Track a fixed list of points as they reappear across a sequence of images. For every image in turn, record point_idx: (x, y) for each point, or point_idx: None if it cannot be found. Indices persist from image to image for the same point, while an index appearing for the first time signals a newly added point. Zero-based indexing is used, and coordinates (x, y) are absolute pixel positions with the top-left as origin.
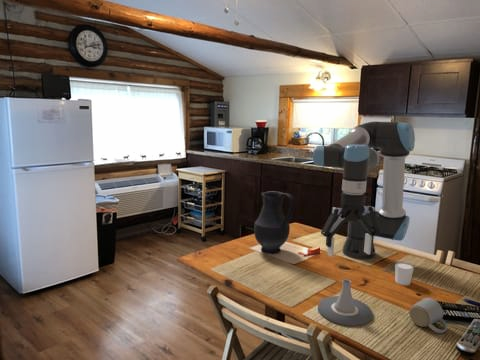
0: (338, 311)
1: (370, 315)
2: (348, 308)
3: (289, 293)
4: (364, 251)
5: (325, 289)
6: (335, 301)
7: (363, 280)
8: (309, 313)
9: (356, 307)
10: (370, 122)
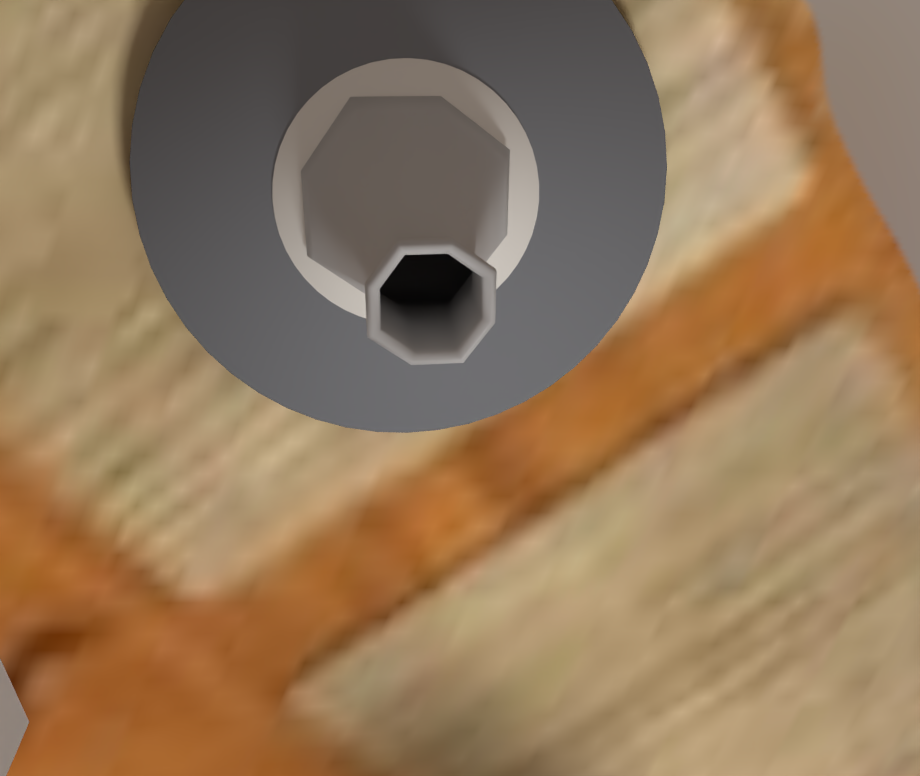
0: None
1: (176, 43)
2: (409, 117)
3: (764, 511)
4: (14, 713)
5: (432, 567)
6: None
7: None
8: (747, 184)
9: (276, 211)
10: None
